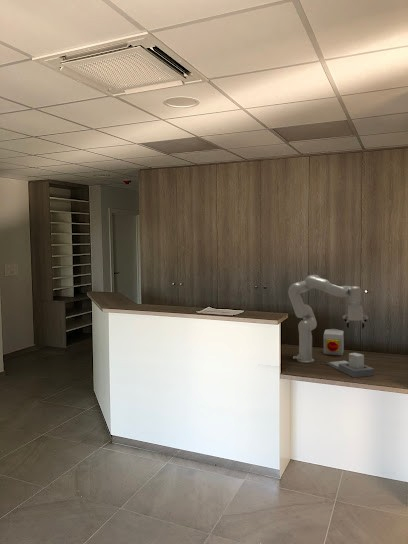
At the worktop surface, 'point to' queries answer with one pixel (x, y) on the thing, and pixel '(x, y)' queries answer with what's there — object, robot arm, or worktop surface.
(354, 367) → the small box
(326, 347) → the electrical switch box
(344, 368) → the case
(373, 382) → the worktop surface
